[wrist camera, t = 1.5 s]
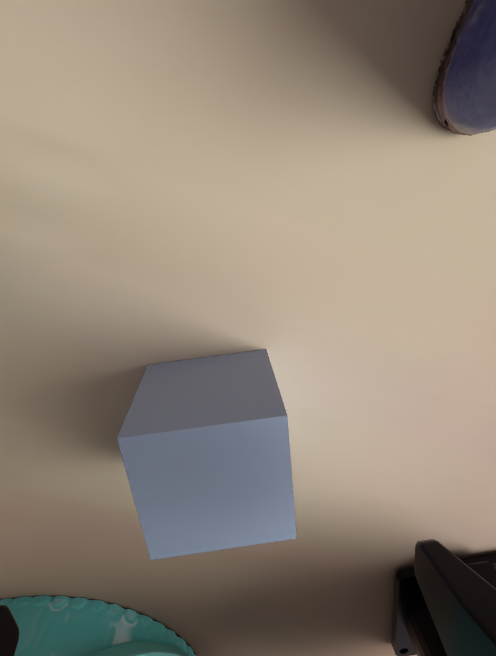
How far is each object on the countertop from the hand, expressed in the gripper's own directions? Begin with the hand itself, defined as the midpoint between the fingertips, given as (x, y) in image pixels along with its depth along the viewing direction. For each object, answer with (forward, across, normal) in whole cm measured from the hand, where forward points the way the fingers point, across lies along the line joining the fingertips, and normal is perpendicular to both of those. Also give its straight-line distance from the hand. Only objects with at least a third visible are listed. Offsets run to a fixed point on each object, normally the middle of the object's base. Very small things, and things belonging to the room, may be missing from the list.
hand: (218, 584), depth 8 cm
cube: (+7, 0, 0) cm, 7 cm away
